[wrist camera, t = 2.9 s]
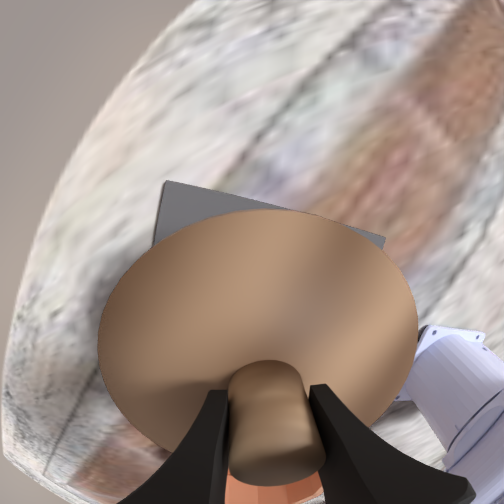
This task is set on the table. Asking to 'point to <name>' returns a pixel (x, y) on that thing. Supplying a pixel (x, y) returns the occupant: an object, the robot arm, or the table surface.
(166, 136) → the table surface
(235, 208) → the mat
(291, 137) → the table surface
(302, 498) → the bowl
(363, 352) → the lid
